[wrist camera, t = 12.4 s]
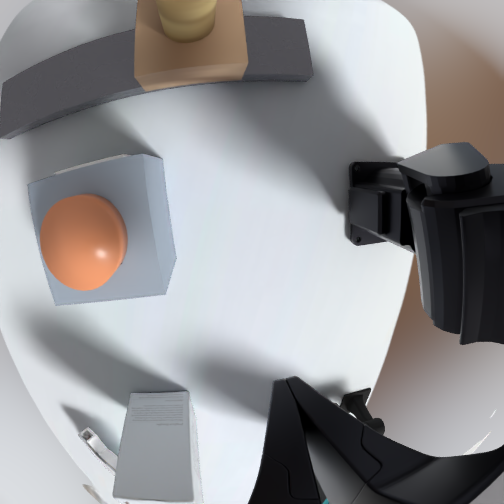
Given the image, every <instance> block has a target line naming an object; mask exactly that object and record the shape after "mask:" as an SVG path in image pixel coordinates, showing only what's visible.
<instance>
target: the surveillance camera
mask: <svg viewBox="0 0 504 504" xmlns="http://www.w3.org/2000/svg"><path fill="white" fill-rule="evenodd" d="M370 392H371V388H369V389H365V390H362V391H358V392H354V393H350V394H346V395H344V397H343V400H342V403H341V406H340V408H342V409H343V410H344V411H346V412H347V413H350V412H351V413H352V414H354V415H355V417H356V418H357V419H358V420H359V421H361V422H362V423H364V425H367V426H369V427H370V428H372V429H373V430H375V431H376V432H378V433H380V434H382V435H383V434H384V432H385V426H384V423H383V421H382V420H381V419H380V418H374V419H373V418H372V417H371V415H370V413H369V411H368V410H367V408H366V406H365V404H366V401H367V399H368V396H369V394H370ZM334 404H336V405H337V406H339V405H338V404H337V403H334ZM314 474H315V473H314ZM315 478H316V482H317V486H318V490H319V494H320V498H321V499H320V500H321V503H322V504H330V503H329V501H328V499H327V497H326V495H325V493H324V491H323V489H322V487H321V485H320V483H319V481H318V479H317V477H316V475H315Z"/></svg>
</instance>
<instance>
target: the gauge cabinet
mask: <svg viewBox="0 0 504 504" xmlns="http://www.w3.org/2000/svg"><path fill="white" fill-rule="evenodd" d="M28 193H29V200H30V207H31V213H32V219H33V224H34V229H35V234H36V239H37V243H38V247H39V251H40V256H41V259H42V263H43V267H44V270H45V274H46V277H47V281H48V284H49V287H50V290H51V293H52V296H53V299H54V302H55V305H56V306H57V305H69V304H81V303H91V302H102V301H111V300H121V299H130V298H139V297H148V296H157V295H165V294H166V291H167V288H168V285H169V281H170V278H171V275H172V271H173V268H174V265H175V262H176V259H177V258H176V252H175V247H174V241H173V234H172V228H171V221H170V215H169V208H168V200H167V193H166V185H165V176H164V167H163V159H161V158H157V157H154V156H150V155H147V154H143V153H142V154H137V155H132V156H131V155H126V154H121V155H117V156H112V157H108V158H104V159H100V160H96V161H92V162H88V163H84V164H81V165H77V166H74V167H70V168H67V169H63V170H60V171H57V172H55V175H54V176H51V177H48V178H45V179H42V180H39V181H36V182H33V183H30V184H28ZM80 194H96V195H99V196H102V197H104V198H106V199H107V200H108V201H110V202H111V203H112V204H113V205H114V206H115V207H116V208H117V209H118V211H119V212H120V214H121V216H122V218H123V220H124V222H125V225H126V229H127V235H128V245H127V251H126V255H125V257H124V260H123V262H122V263H121V265H120V266H119V268H118V269H117V270H116V271H115V272H114V274H113V275H112V276H111V277H110V279H109V280H108V281H107V282H106V283H104V284H103V285H102V286H100V287H98V288H96V289H93V290H88V291H81V290H75V289H72V288H70V287H67V286H66V285H64V284H62V283H61V282H60V281H59V280H58V279H56V278H55V277H54V275H53V274H52V273H51V272H50V270H49V269H48V267H47V265H46V263H45V261H44V259H43V256H42V252H41V247H40V230H41V226H42V222H43V220H44V217H45V215H46V214H47V212H48V211H49V209H50V208H51V207H52V206H53V205H54V204H55V203H57V202H58V201H60V200H62V199H65V198H67V197H72V196H76V195H80Z"/></svg>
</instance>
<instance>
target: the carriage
mask: <svg viewBox="0 0 504 504" xmlns="http://www.w3.org/2000/svg"><path fill="white" fill-rule="evenodd" d="M247 65H248V54H247V45H246V36H245V27H244V19H243V10H242V2H241V0H138V3H137V14H136V29H135V54H134V77H135V78H136V80H137V81H138V82H139V84H140V85H141V86H142V88H143V89H144V90H145V92H146V91H151V90H157V89H162V88H168V87H175V86H181V85H189V84H197V83H206V82H217V81H230V80H241V79H242V77H243V74H244V72H245V70H246V67H247Z"/></svg>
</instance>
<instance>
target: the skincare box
mask: <svg viewBox="0 0 504 504" xmlns="http://www.w3.org/2000/svg"><path fill="white" fill-rule="evenodd" d="M113 497H114V498H115V499H116V500H117V501H118V502H119V503H121V504H204V499H203V492H202V483H201V473H200V462H199V448H198V434H197V418H196V415H195V412H194V408H193V405H192V401H191V397H190V393H189V392H188V391H183V392H164V393H131V394H130V399H129V403H128V408H127V413H126V417H125V422H124V427H123V432H122V437H121V442H120V448H119V454H118V460H117V466H116V473H115V482H114V488H113Z"/></svg>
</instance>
